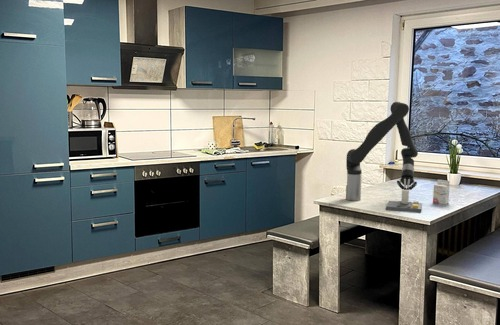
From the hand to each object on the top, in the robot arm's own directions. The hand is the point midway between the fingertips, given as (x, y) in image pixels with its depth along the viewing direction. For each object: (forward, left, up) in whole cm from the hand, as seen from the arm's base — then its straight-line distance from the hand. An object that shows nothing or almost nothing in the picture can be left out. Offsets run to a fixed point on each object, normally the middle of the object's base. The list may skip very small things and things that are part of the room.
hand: (406, 194), depth 318 cm
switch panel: (0, -12, -6) cm, 14 cm away
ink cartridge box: (+21, +12, -7) cm, 25 cm away
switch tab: (0, -8, -4) cm, 9 cm away
